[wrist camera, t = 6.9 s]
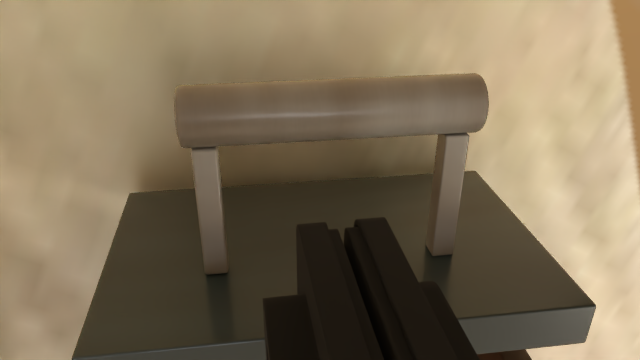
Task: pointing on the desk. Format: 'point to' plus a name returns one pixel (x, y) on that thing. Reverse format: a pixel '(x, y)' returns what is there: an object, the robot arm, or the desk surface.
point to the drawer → (322, 206)
